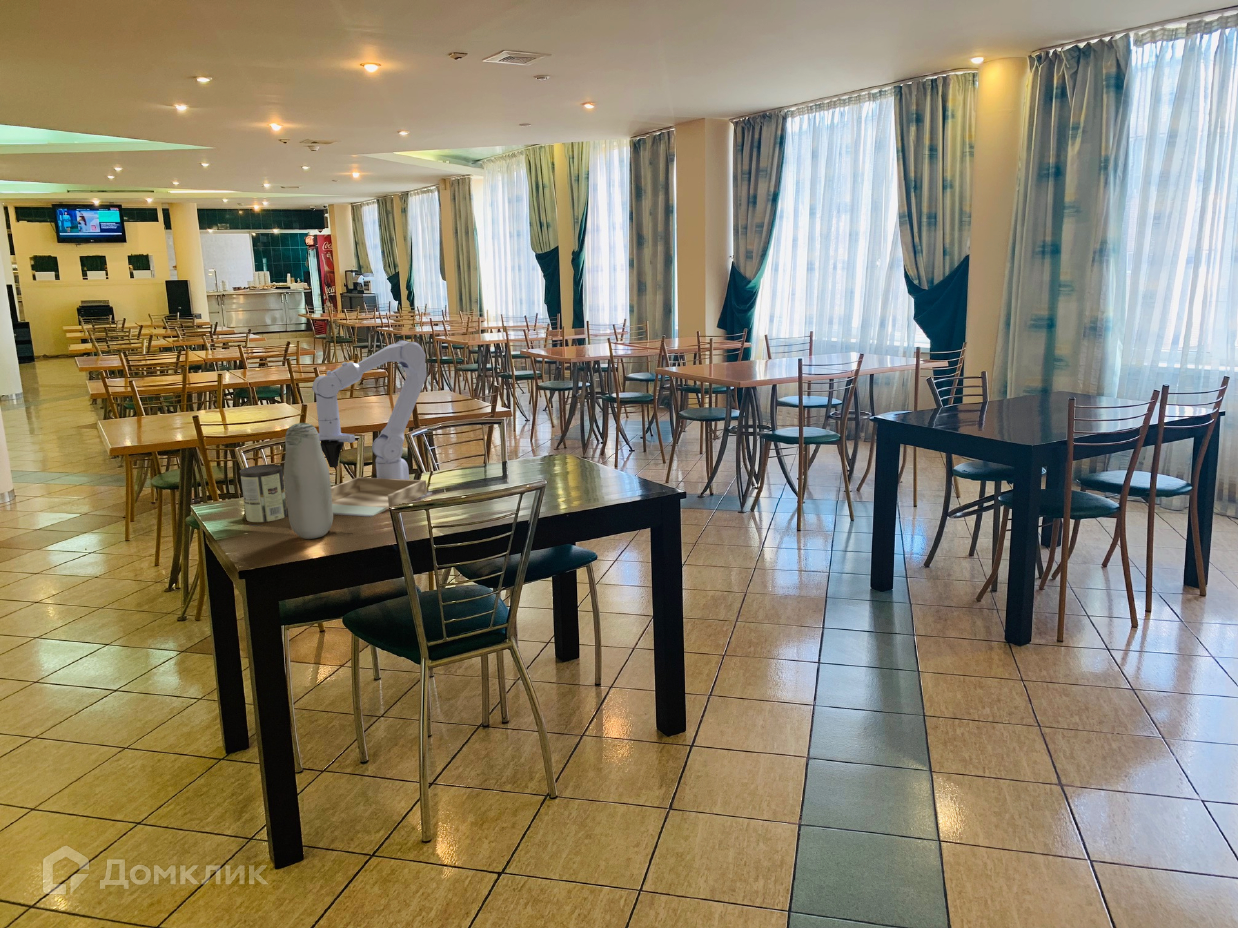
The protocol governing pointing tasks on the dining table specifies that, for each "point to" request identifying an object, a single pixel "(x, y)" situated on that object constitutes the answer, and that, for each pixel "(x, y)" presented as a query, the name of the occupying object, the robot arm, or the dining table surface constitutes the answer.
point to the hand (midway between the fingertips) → (333, 466)
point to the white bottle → (307, 483)
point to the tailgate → (356, 510)
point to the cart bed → (377, 492)
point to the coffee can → (263, 493)
